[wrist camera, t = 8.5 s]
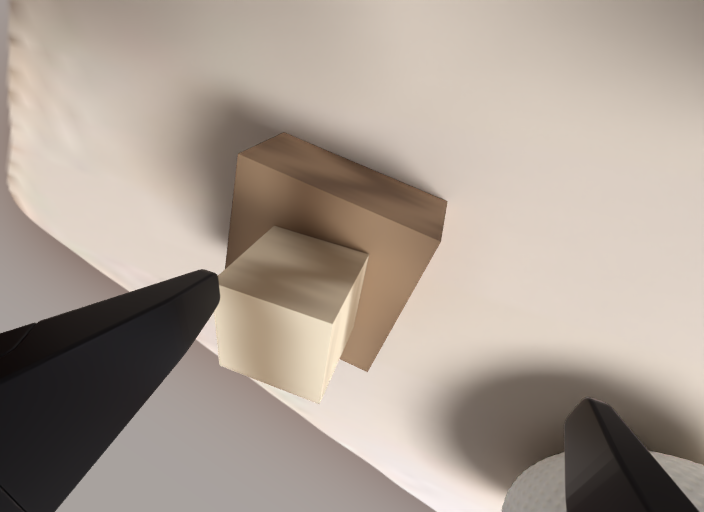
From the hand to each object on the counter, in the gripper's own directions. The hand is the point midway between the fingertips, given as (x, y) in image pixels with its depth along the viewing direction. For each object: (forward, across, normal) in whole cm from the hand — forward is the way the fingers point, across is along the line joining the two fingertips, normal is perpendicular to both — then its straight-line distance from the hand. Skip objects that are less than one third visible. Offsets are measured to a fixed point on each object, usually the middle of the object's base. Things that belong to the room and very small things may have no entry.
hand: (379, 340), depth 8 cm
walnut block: (+13, +5, +5) cm, 15 cm away
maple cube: (+8, +4, +5) cm, 10 cm away
